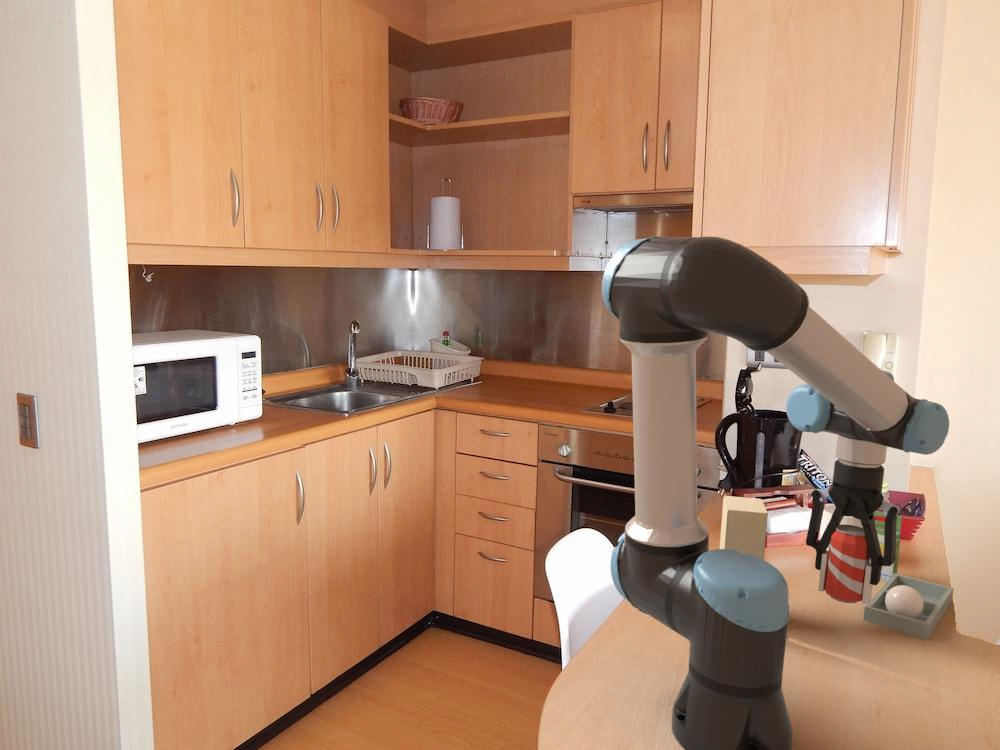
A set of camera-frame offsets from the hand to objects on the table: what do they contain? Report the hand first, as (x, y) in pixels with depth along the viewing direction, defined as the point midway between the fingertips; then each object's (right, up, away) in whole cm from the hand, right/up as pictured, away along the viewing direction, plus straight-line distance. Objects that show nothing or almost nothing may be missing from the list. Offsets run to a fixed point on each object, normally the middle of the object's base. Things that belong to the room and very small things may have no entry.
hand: (844, 594), depth 132 cm
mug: (+13, -2, +35) cm, 37 cm away
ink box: (+16, -4, +23) cm, 28 cm away
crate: (+15, -6, +8) cm, 18 cm away
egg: (+12, -5, +4) cm, 13 cm away
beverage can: (0, -1, 0) cm, 1 cm away
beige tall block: (-17, -6, +4) cm, 18 cm away
